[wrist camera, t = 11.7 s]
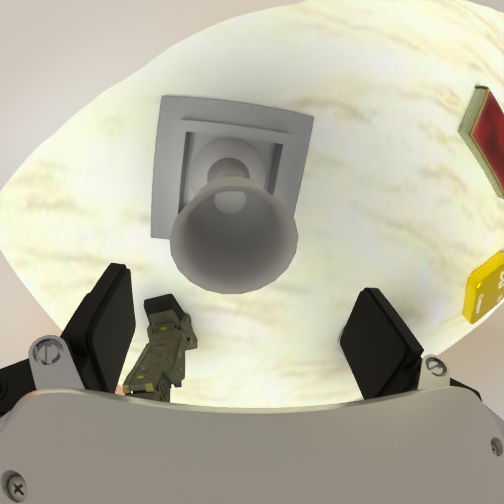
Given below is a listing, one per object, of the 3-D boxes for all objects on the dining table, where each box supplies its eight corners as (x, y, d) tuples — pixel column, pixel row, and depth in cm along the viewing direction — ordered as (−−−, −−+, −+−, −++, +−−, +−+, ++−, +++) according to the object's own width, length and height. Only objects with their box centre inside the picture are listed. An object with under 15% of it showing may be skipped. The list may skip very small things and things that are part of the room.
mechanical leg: (125, 286, 37) (109, 499, 14) (168, 275, 37) (171, 509, 14) (165, 334, 46) (171, 500, 24) (201, 327, 46) (219, 500, 23)
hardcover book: (473, 85, 27) (490, 86, 23) (513, 156, 34) (526, 161, 30) (453, 131, 31) (471, 135, 28) (495, 197, 38) (509, 204, 34)
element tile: (466, 274, 46) (478, 286, 42) (501, 247, 44) (513, 256, 40) (460, 317, 53) (470, 328, 48) (494, 290, 51) (504, 299, 47)
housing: (311, 117, 30) (326, 116, 25) (283, 247, 38) (292, 266, 33) (163, 96, 27) (153, 92, 22) (152, 234, 35) (143, 251, 30)
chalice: (202, 209, 33) (184, 300, 17) (193, 155, 29) (157, 196, 14) (261, 201, 33) (299, 285, 17) (256, 146, 30) (295, 177, 14)
